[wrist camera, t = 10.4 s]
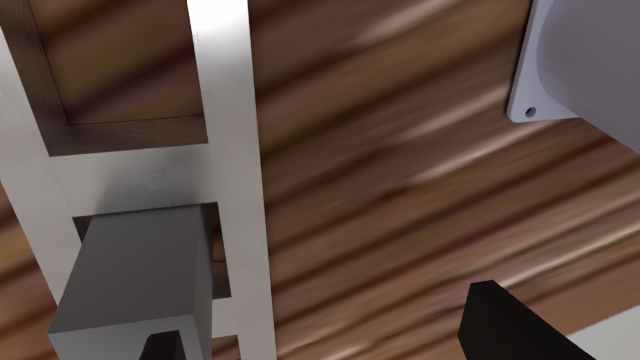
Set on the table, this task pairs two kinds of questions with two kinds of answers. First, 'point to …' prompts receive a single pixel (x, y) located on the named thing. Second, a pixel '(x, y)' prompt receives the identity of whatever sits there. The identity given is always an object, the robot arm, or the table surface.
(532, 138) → the table surface
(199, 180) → the hole rail
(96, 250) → the square peg
